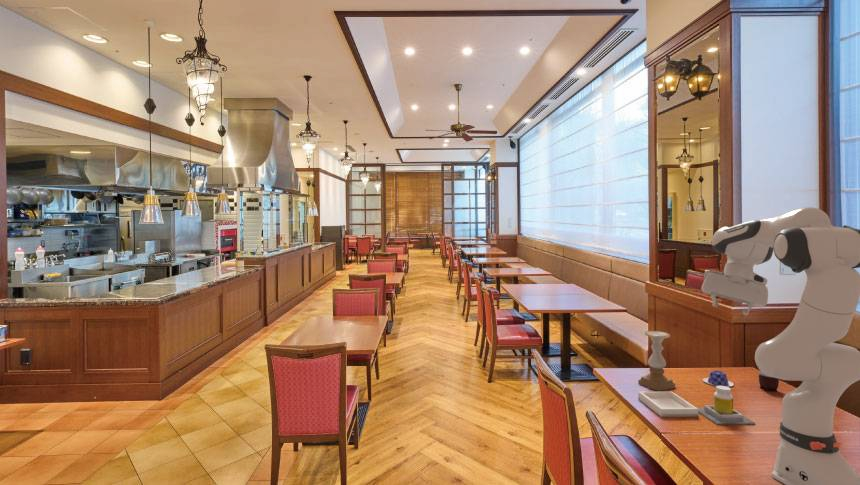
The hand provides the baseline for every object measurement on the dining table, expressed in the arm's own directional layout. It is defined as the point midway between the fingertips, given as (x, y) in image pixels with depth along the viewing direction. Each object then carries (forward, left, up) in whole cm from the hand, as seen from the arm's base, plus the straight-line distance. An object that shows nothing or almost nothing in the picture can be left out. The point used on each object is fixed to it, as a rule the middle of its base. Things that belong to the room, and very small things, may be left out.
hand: (729, 310), depth 160 cm
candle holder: (+39, +6, -42) cm, 58 cm away
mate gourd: (+33, -40, -42) cm, 67 cm away
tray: (+15, +14, -42) cm, 46 cm away
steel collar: (+6, -2, -42) cm, 42 cm away
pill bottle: (+6, -2, -42) cm, 42 cm away
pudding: (+42, -24, -42) cm, 64 cm away
